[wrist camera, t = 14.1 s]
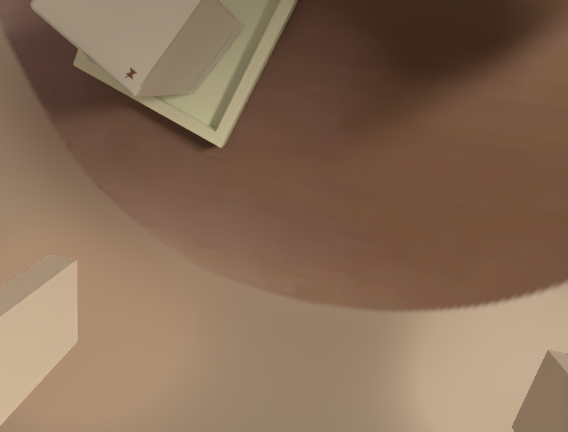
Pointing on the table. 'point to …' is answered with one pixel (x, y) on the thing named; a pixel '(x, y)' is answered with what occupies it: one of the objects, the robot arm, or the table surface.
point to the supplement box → (147, 39)
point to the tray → (219, 73)
